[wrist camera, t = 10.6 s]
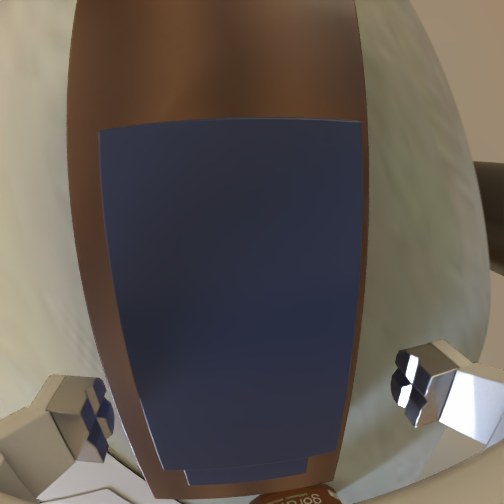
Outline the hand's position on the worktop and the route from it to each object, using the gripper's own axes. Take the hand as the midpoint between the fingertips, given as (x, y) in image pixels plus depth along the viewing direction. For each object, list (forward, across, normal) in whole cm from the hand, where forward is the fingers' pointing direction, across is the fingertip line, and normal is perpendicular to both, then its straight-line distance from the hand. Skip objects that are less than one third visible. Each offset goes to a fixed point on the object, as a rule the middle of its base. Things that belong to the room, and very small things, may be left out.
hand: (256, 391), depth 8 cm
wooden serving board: (+10, 0, 0) cm, 10 cm away
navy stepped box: (+5, 0, 0) cm, 5 cm away
